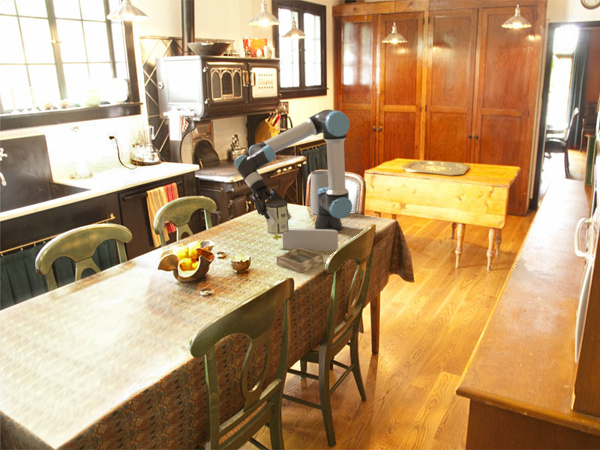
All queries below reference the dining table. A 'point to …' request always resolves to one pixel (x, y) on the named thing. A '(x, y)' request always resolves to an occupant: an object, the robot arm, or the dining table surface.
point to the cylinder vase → (317, 187)
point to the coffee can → (277, 217)
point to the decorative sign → (310, 239)
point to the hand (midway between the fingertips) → (282, 221)
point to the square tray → (299, 260)
